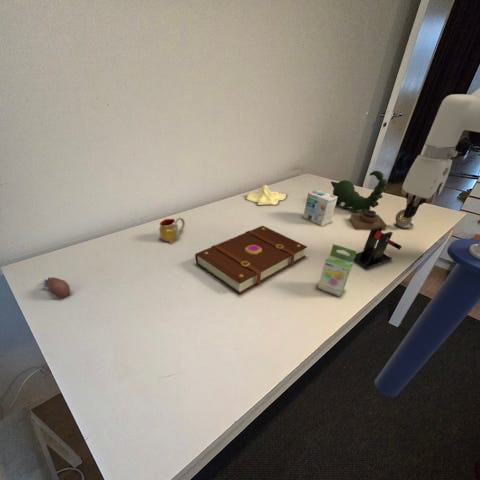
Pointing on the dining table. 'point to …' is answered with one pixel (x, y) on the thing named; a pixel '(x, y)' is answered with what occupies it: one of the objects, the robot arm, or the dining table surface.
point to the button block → (367, 221)
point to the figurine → (57, 287)
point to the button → (370, 213)
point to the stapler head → (389, 240)
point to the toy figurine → (353, 199)
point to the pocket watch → (405, 223)
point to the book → (250, 258)
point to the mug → (170, 229)
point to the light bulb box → (320, 207)
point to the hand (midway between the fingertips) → (408, 216)
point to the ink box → (336, 270)
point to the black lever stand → (374, 250)
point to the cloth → (265, 196)
